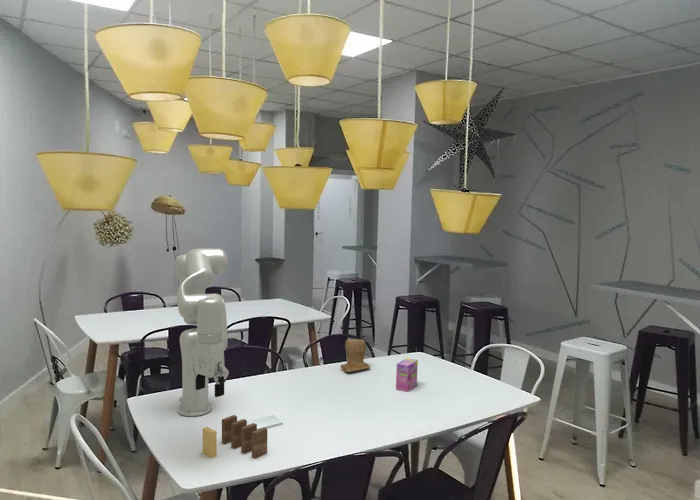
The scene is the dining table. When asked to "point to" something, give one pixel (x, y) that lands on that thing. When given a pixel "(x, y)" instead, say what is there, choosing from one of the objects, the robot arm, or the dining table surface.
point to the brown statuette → (355, 355)
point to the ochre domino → (209, 442)
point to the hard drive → (266, 422)
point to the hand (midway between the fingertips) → (209, 392)
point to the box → (406, 374)
